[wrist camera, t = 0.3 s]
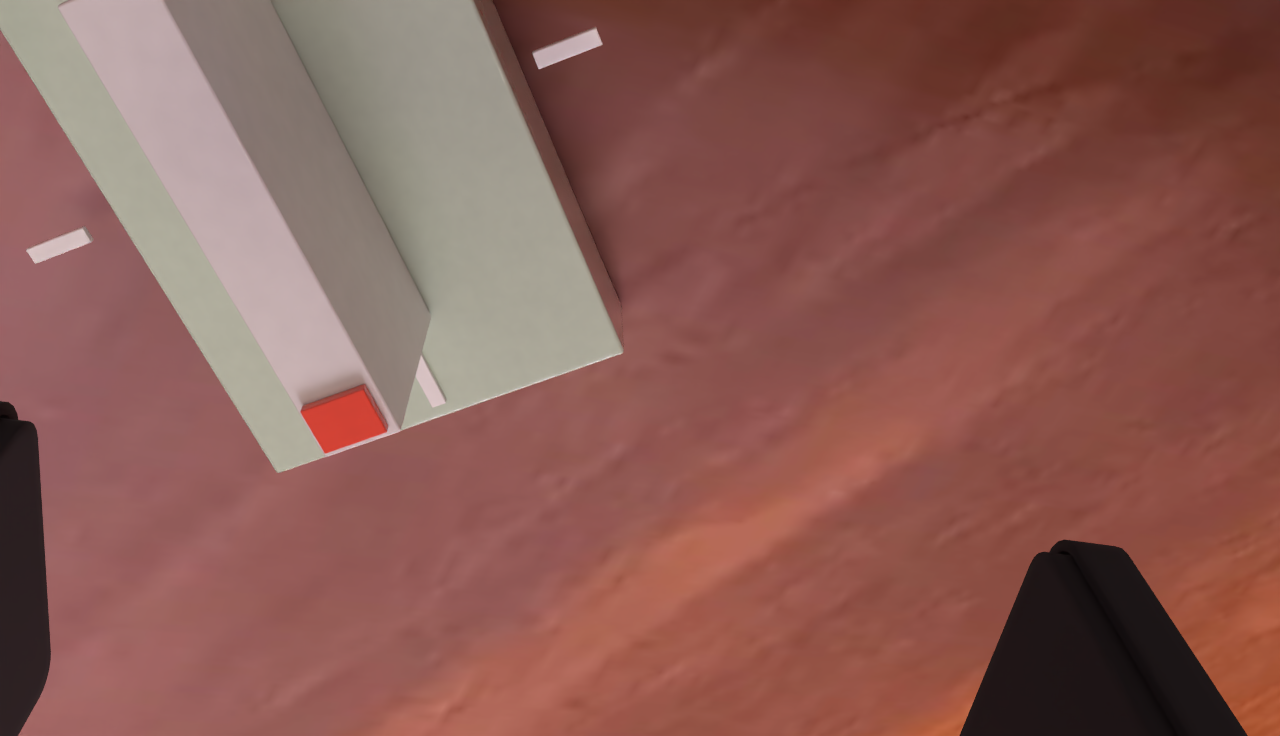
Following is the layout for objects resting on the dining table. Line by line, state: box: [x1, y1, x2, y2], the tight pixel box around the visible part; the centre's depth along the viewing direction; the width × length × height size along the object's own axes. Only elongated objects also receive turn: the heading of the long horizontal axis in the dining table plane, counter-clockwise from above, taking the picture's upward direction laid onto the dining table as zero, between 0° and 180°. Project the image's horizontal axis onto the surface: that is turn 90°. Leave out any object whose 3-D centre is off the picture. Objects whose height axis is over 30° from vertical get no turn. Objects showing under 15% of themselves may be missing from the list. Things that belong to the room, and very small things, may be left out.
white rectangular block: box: [58, 0, 431, 457], centre depth 23 cm, size 9×2×5 cm, turn 20°
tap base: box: [0, 0, 624, 473], centre depth 26 cm, size 14×13×3 cm
